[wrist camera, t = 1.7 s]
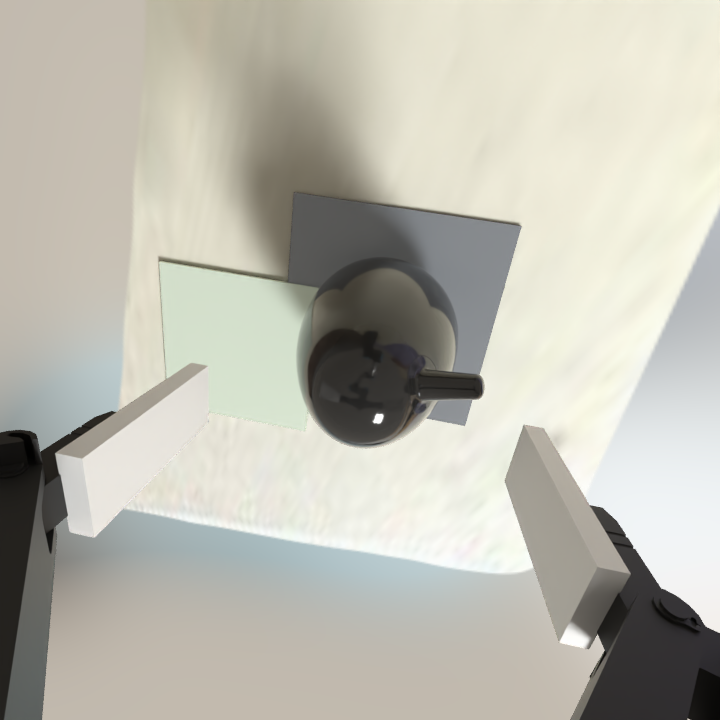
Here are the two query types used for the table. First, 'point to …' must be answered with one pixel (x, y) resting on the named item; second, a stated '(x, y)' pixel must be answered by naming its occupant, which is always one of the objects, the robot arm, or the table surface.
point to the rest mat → (237, 339)
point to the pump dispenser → (379, 352)
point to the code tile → (420, 247)
